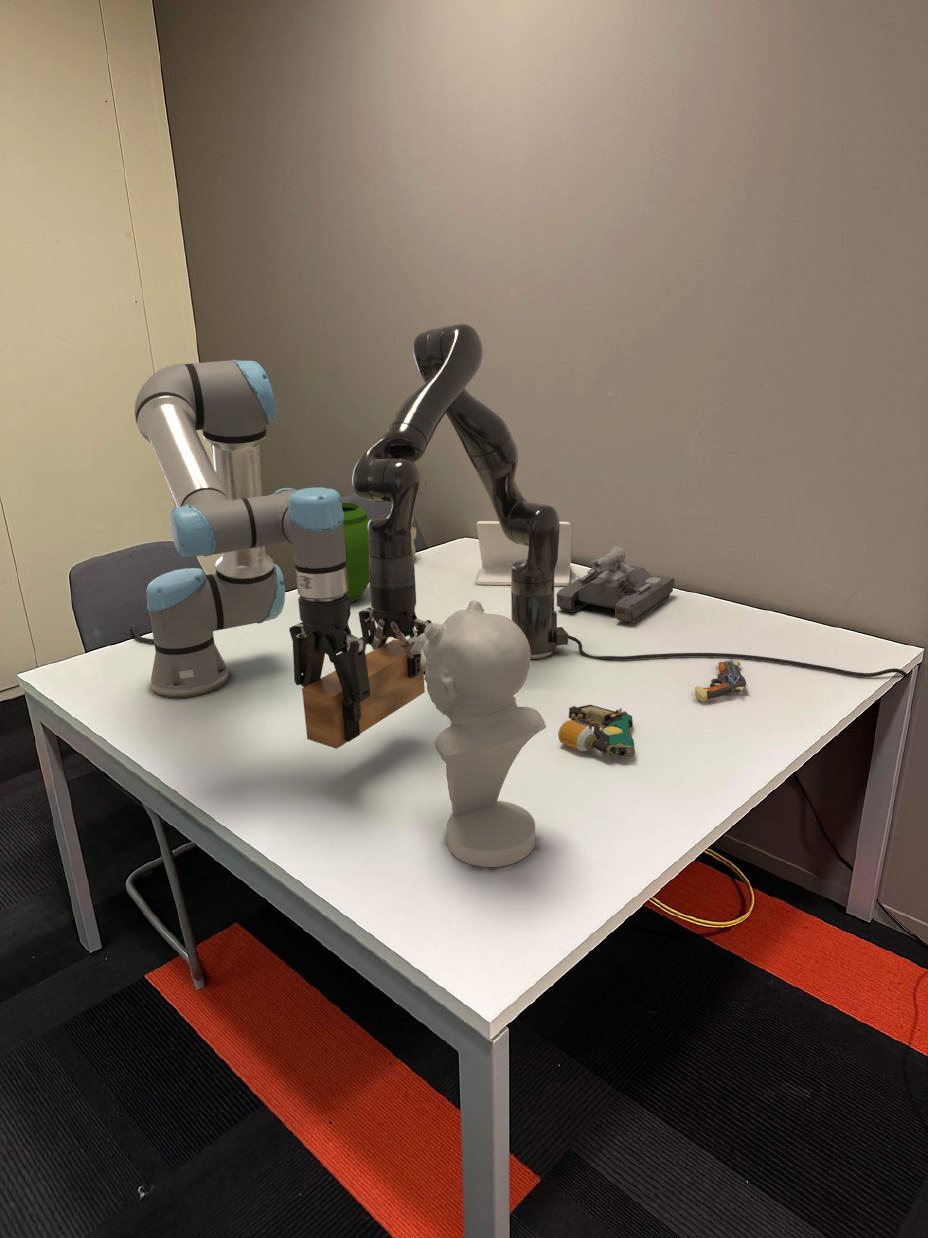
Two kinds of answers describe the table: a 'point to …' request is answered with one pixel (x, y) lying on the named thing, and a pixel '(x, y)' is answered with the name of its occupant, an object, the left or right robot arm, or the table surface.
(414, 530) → the sculpture
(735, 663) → the toy gun
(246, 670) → the table surface
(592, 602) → the toy
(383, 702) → the box
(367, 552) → the vase
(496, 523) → the tablet stand
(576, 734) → the spray gun
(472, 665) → the bust sculpture
